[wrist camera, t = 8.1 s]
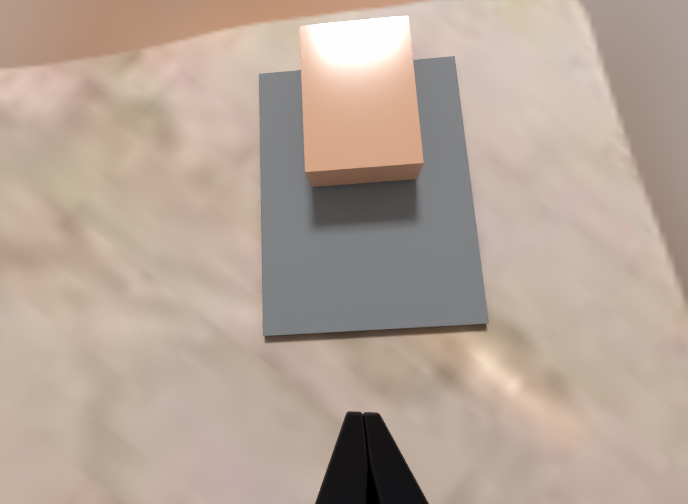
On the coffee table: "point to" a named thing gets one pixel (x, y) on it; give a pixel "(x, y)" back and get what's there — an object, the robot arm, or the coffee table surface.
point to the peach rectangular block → (359, 102)
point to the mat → (368, 224)
